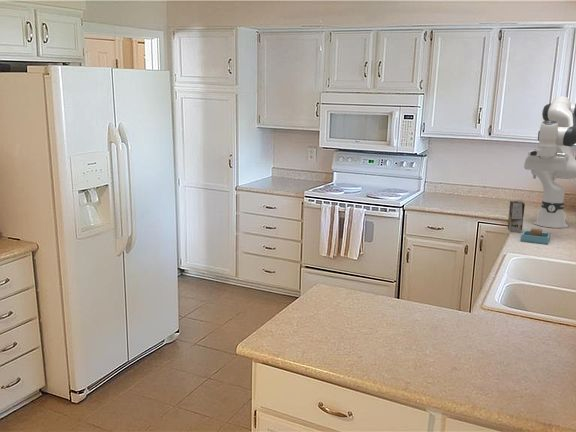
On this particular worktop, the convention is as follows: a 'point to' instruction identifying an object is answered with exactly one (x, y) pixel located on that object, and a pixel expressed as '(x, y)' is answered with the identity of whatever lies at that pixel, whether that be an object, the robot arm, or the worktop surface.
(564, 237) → the worktop surface
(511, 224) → the coffee box
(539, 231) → the walnut block
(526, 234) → the tray
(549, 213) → the robot arm
